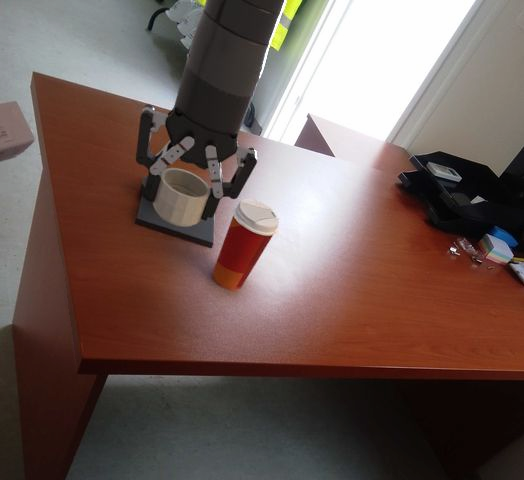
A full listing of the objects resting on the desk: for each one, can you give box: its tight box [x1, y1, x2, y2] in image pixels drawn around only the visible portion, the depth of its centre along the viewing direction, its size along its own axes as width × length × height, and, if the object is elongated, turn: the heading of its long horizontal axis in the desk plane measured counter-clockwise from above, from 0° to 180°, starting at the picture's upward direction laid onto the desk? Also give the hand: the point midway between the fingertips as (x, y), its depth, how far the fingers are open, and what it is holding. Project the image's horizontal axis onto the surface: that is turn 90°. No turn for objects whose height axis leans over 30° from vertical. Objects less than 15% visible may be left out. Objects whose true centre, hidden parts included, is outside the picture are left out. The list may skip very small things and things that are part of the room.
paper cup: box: [212, 198, 280, 291], centre depth 75 cm, size 8×8×14 cm
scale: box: [134, 175, 216, 249], centre depth 85 cm, size 15×15×3 cm
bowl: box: [153, 167, 211, 227], centre depth 58 cm, size 6×6×4 cm
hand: (178, 207), depth 59 cm, fingers closed on bowl, 6 cm apart
